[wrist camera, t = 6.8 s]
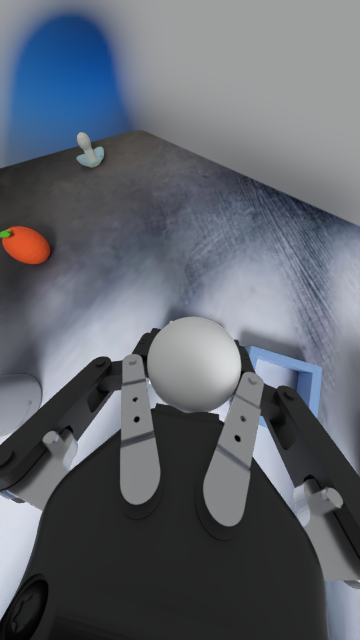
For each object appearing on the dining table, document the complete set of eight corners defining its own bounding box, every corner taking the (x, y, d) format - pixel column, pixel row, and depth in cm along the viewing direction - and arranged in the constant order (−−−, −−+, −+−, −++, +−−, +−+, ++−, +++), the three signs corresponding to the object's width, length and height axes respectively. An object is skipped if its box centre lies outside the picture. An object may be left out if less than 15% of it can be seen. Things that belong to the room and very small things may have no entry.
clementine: (21, 273, 34) (-22, 250, 27) (26, 246, 36) (-12, 219, 29) (56, 268, 34) (22, 245, 27) (59, 242, 36) (29, 214, 29)
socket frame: (152, 380, 27) (148, 383, 24) (172, 324, 29) (170, 320, 26) (298, 435, 23) (314, 445, 20) (307, 366, 26) (322, 367, 23)
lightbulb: (192, 326, 19) (201, 282, 9) (226, 365, 18) (287, 370, 7) (153, 357, 18) (110, 352, 8) (186, 401, 17) (188, 467, 6)
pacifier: (78, 162, 43) (85, 174, 41) (60, 130, 37) (67, 142, 35) (102, 152, 44) (110, 163, 42) (87, 118, 38) (96, 129, 36)
